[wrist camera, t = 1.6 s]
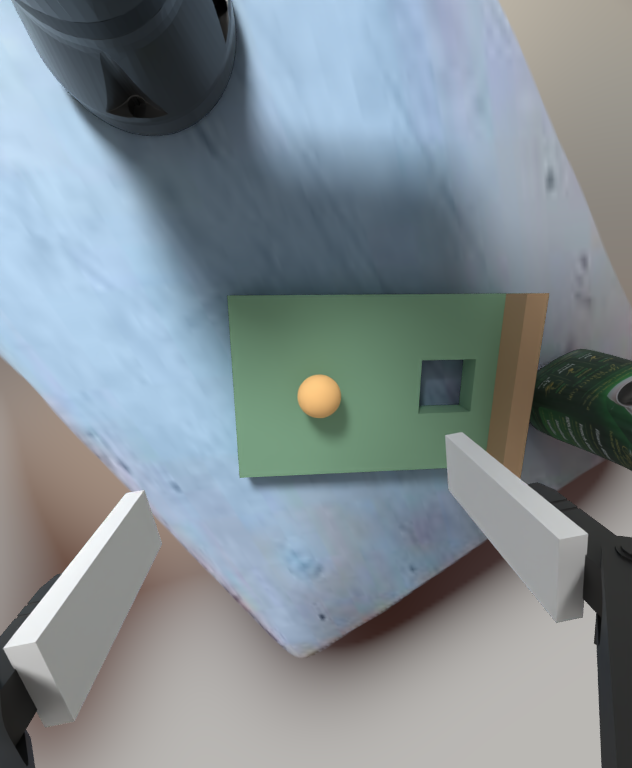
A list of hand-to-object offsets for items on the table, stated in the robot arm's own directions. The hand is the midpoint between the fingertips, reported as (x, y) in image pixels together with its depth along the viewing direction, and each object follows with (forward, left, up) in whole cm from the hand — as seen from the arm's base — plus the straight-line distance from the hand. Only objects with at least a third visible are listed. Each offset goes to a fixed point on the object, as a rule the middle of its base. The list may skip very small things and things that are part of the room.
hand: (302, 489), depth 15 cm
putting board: (+7, +5, -22) cm, 23 cm away
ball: (+2, +1, -17) cm, 17 cm away
